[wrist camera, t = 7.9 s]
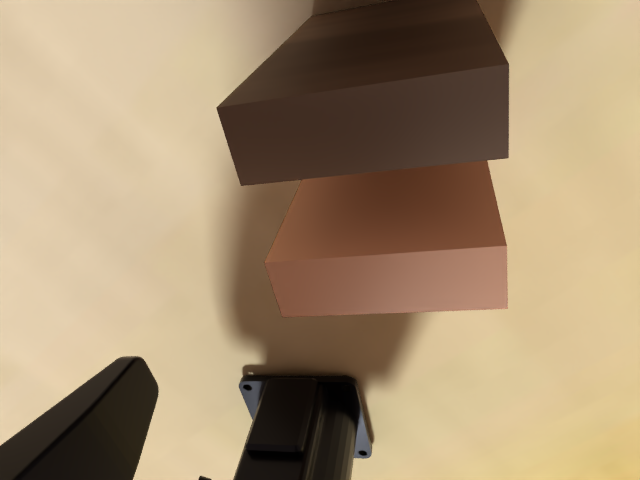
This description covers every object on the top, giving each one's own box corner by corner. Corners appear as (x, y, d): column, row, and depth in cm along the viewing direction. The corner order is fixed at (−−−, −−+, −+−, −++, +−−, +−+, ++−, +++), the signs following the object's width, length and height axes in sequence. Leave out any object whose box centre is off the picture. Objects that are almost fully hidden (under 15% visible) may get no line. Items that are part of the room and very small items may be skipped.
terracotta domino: (474, 140, 18) (507, 308, 10) (338, 157, 19) (282, 317, 12) (472, 96, 17) (506, 245, 9) (330, 117, 18) (264, 262, 11)
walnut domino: (470, 41, 16) (508, 157, 9) (320, 65, 17) (240, 185, 10) (469, -14, 15) (508, 64, 8) (311, 16, 16) (216, 107, 9)
